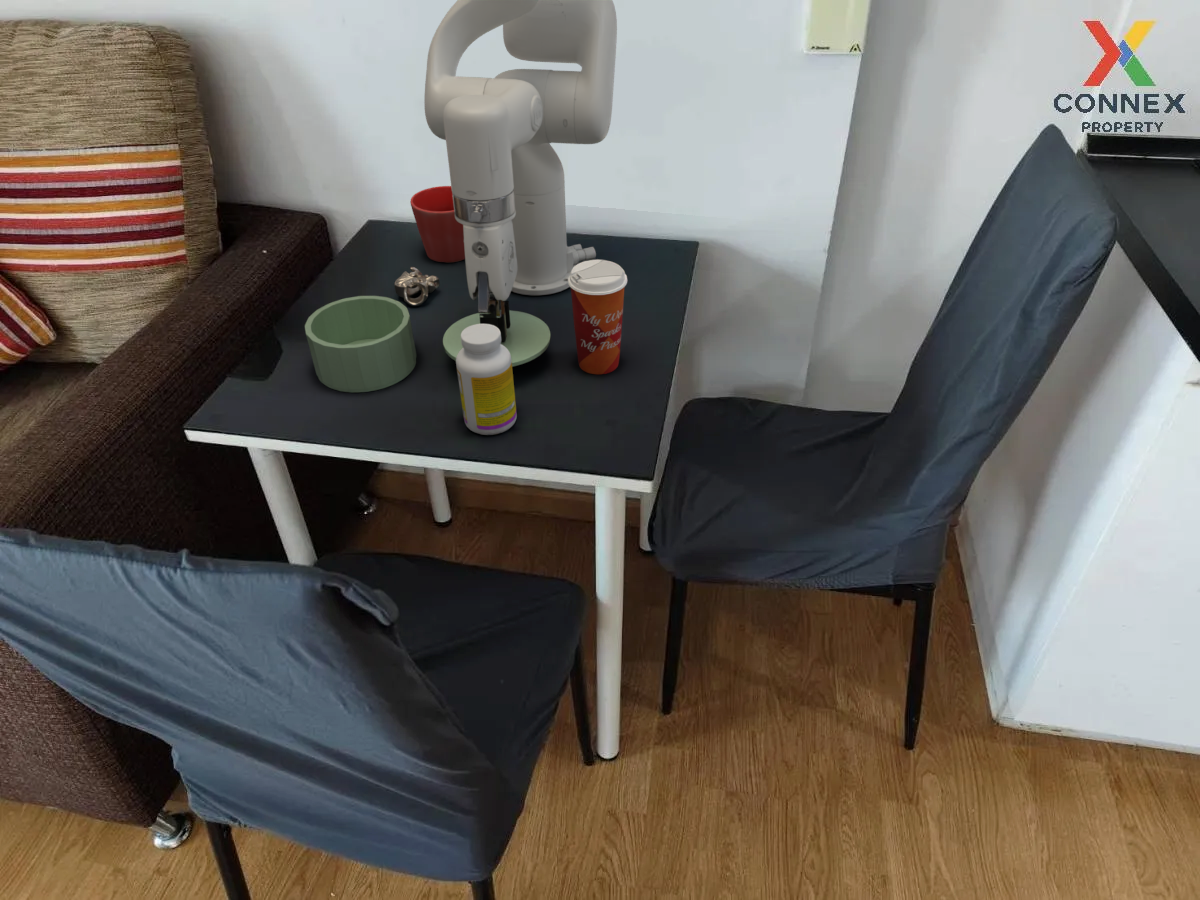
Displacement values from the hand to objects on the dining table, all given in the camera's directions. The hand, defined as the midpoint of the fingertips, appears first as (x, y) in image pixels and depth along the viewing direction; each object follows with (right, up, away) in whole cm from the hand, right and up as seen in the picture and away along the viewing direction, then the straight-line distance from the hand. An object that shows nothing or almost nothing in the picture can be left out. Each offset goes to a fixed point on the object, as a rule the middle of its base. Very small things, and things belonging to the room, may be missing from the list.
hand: (496, 333), depth 117 cm
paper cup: (+14, -4, +2) cm, 15 cm away
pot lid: (0, -1, +1) cm, 1 cm away
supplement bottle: (0, -12, -8) cm, 15 cm away
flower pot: (-11, +17, +29) cm, 36 cm away
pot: (-18, -4, +2) cm, 19 cm away
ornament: (-14, +8, +18) cm, 24 cm away
